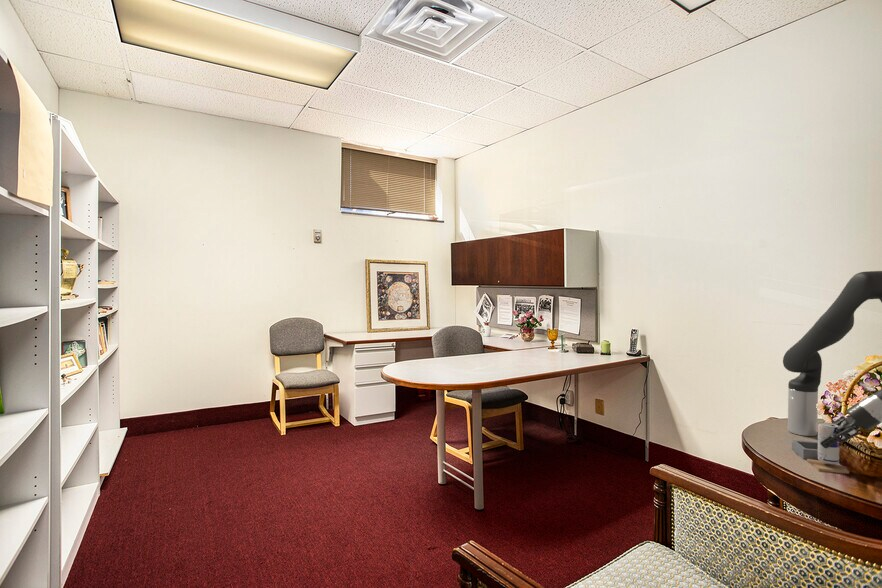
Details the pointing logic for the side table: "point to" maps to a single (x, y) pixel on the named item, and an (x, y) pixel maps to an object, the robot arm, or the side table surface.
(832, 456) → the energy drink
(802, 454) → the square collar
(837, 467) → the light tan wooden coaster
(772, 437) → the side table surface
